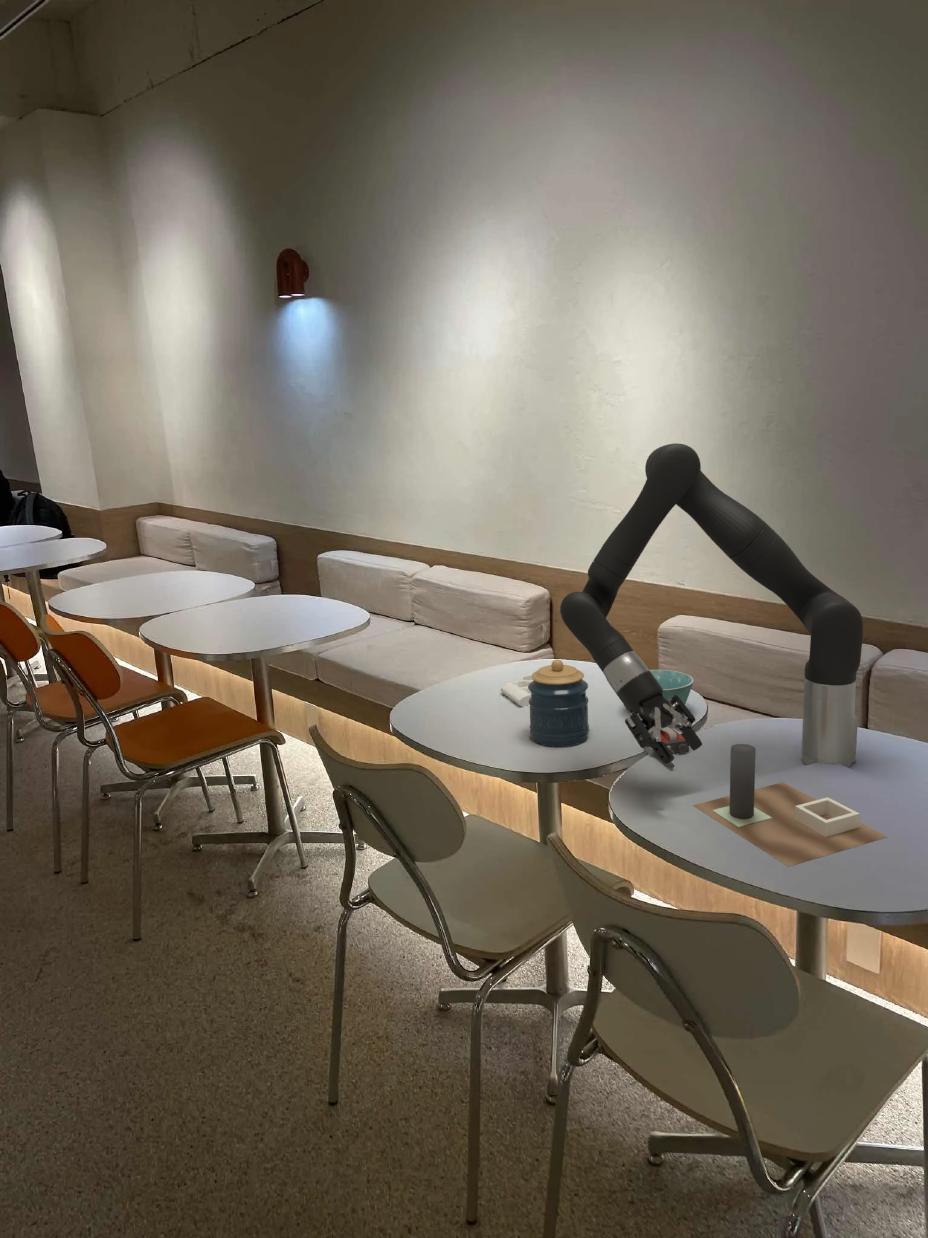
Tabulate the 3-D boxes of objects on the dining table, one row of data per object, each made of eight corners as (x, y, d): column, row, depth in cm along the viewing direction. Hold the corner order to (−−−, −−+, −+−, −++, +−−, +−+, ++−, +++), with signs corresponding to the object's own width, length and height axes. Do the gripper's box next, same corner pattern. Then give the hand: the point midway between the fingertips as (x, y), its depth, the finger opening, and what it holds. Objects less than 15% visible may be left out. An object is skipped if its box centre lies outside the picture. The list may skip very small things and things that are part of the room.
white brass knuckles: (496, 692, 231) (547, 683, 236) (524, 713, 214) (579, 703, 219) (495, 679, 230) (547, 671, 235) (524, 700, 213) (579, 690, 218)
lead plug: (743, 806, 156) (745, 742, 154) (758, 816, 153) (760, 750, 150) (724, 811, 155) (725, 746, 152) (739, 821, 151) (741, 754, 149)
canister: (551, 752, 189) (548, 672, 185) (518, 734, 200) (515, 658, 196) (601, 739, 195) (599, 661, 191) (567, 722, 206) (565, 648, 202)
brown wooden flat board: (782, 789, 166) (783, 781, 166) (887, 845, 144) (887, 836, 144) (692, 813, 159) (692, 804, 158) (788, 875, 137) (788, 865, 137)
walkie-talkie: (627, 738, 196) (667, 773, 177) (626, 719, 195) (667, 752, 176) (664, 733, 197) (708, 767, 178) (664, 714, 196) (708, 746, 177)
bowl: (610, 715, 209) (609, 681, 207) (649, 697, 220) (649, 665, 218) (668, 729, 198) (668, 694, 196) (706, 710, 209) (706, 676, 207)
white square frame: (827, 810, 154) (827, 797, 153) (858, 827, 147) (859, 813, 147) (794, 819, 151) (795, 806, 151) (825, 837, 145) (826, 823, 144)
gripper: (619, 679, 159) (673, 756, 153) (667, 661, 168) (720, 733, 163) (596, 702, 164) (648, 777, 158) (644, 682, 173) (694, 753, 168)
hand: (684, 755), depth 160 cm, fingers open, 8 cm apart
